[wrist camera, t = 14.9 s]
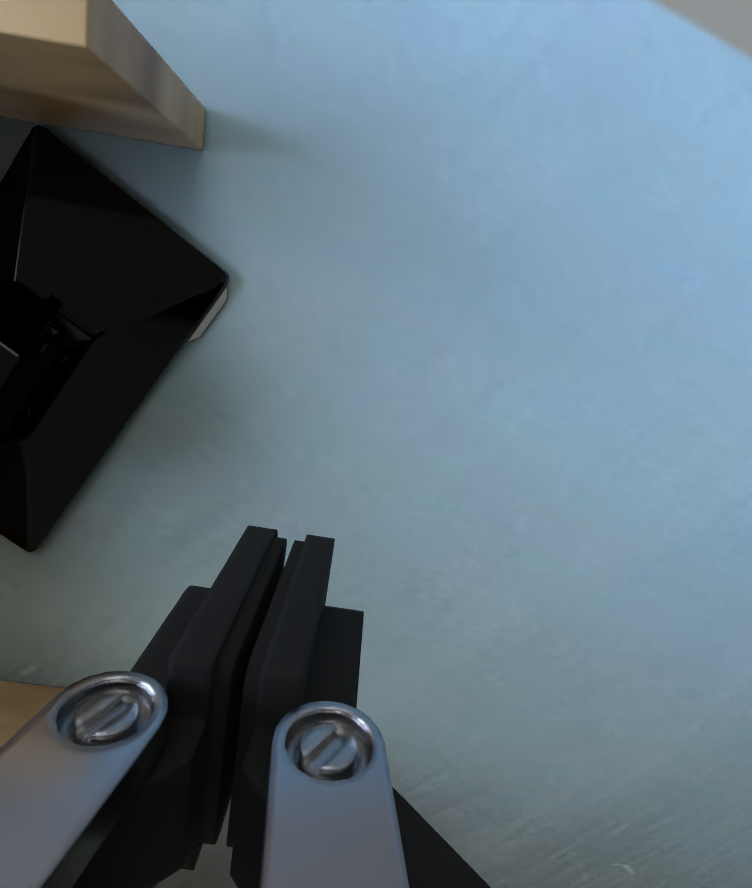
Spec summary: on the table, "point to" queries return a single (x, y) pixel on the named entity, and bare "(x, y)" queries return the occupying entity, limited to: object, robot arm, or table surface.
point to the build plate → (82, 324)
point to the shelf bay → (85, 129)
